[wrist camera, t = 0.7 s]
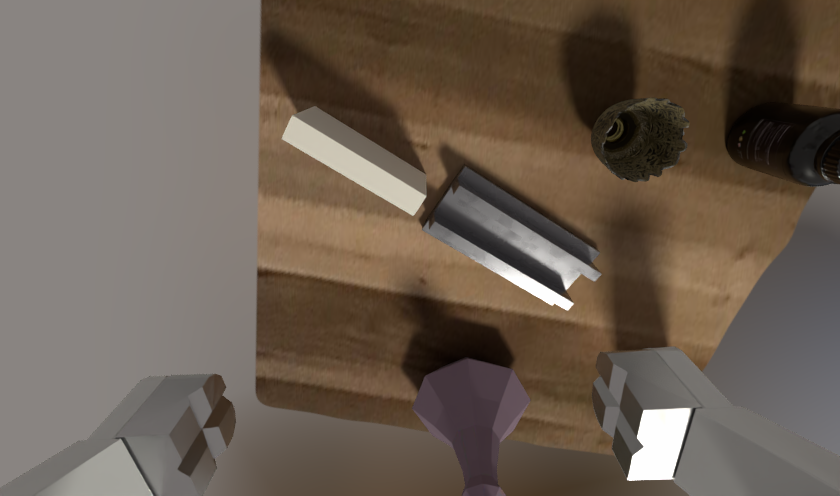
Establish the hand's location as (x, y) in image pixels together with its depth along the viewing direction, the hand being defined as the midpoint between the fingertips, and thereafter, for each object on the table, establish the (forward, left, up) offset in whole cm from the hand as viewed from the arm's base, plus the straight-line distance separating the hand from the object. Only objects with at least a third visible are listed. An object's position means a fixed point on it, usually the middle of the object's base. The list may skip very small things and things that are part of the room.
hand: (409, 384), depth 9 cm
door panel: (+5, -4, -38) cm, 38 cm away
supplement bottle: (-19, +31, -38) cm, 52 cm away
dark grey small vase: (-11, +17, -38) cm, 43 cm away
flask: (+27, +25, -38) cm, 53 cm away
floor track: (+5, +16, -37) cm, 41 cm away
